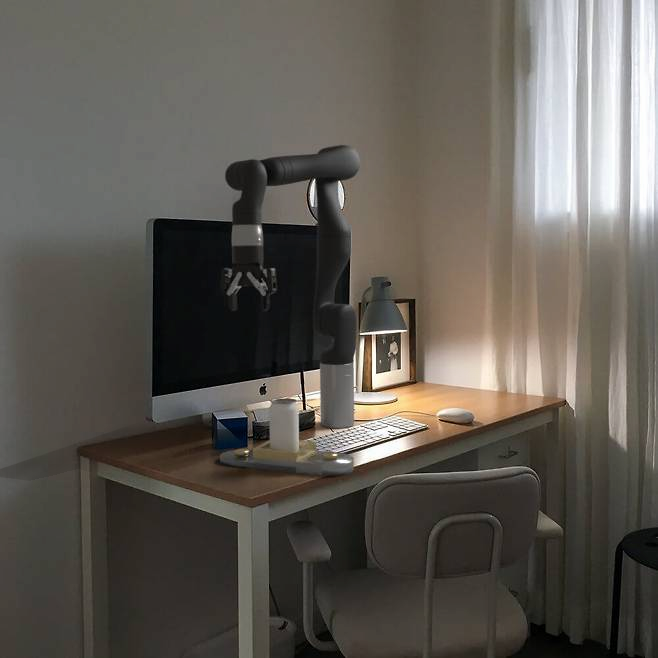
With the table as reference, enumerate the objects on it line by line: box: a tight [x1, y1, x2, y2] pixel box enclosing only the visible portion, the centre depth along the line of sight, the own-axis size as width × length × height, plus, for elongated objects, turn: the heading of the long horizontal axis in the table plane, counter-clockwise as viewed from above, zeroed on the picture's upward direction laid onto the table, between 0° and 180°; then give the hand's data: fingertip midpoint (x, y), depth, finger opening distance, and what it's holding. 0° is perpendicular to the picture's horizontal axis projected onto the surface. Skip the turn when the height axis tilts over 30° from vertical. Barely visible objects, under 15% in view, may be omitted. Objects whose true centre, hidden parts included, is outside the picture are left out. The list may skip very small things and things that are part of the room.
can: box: [268, 398, 300, 451], centre depth 172 cm, size 6×6×12 cm
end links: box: [219, 439, 355, 477], centre depth 172 cm, size 32×11×4 cm, turn 67°
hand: (249, 311), depth 188 cm, fingers open, 8 cm apart
